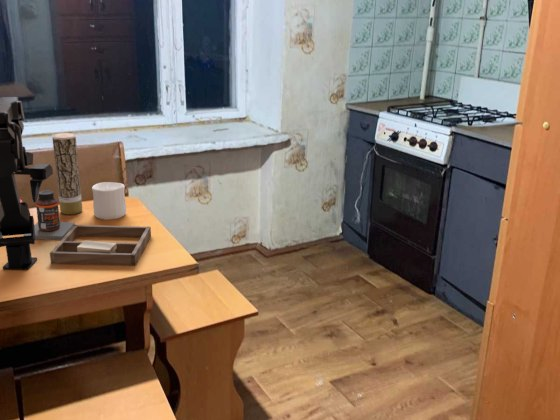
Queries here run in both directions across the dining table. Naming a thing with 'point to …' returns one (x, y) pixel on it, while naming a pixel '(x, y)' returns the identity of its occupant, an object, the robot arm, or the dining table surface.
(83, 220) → the dining table surface
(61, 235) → the mat
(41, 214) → the supplement bottle
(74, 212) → the patterned tall cylinder
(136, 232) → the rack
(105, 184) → the cup
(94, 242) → the offcut top
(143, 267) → the dining table surface
